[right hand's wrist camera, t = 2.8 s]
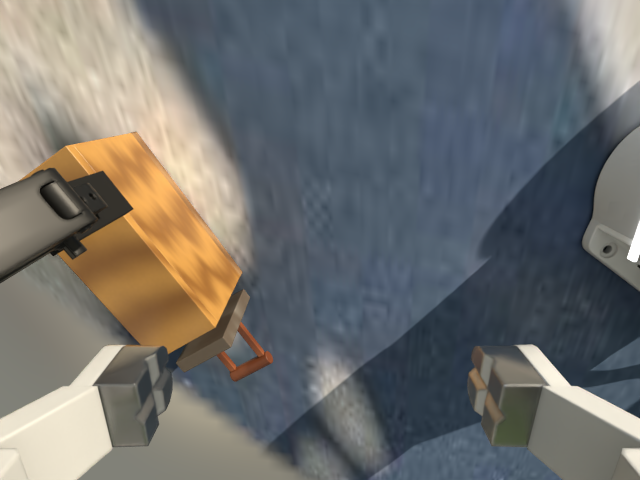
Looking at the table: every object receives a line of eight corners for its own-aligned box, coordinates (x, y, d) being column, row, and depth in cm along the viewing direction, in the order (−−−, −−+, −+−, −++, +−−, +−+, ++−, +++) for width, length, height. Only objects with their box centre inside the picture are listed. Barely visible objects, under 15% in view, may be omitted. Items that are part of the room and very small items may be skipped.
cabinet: (242, 272, 42) (216, 327, 32) (195, 299, 43) (155, 361, 33) (136, 131, 37) (65, 145, 27) (86, 167, 38) (1, 193, 28)
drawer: (280, 336, 43) (269, 393, 35) (242, 356, 44) (223, 416, 36) (153, 170, 37) (103, 192, 29) (112, 198, 38) (53, 227, 30)
